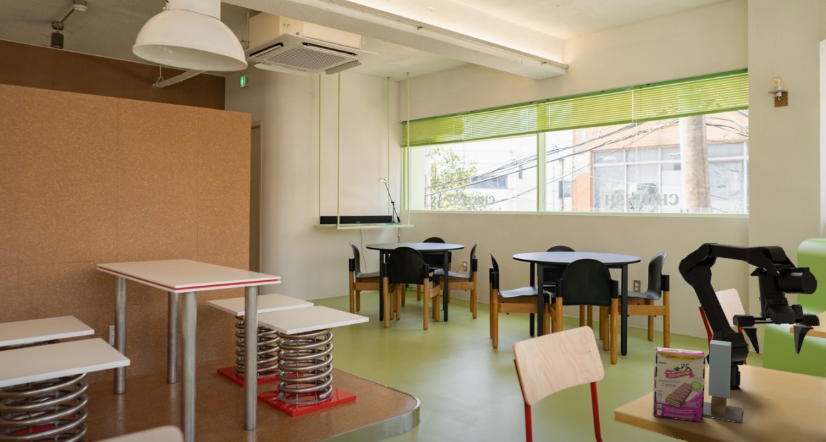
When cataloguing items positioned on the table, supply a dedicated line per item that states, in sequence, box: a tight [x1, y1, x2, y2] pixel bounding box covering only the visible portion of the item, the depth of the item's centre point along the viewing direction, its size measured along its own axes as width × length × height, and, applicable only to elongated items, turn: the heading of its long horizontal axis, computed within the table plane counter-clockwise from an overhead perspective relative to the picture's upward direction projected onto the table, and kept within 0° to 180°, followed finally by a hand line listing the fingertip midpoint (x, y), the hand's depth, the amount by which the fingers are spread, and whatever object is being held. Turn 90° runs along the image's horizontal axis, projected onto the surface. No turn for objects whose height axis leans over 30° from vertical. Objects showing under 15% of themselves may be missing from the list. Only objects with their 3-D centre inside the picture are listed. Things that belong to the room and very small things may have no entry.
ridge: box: [710, 396, 728, 417], centre depth 145 cm, size 3×9×4 cm, turn 149°
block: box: [708, 339, 731, 400], centre depth 144 cm, size 4×4×13 cm
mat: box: [703, 401, 743, 424], centre depth 145 cm, size 10×10×1 cm
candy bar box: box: [652, 346, 707, 423], centre depth 141 cm, size 11×5×16 cm, turn 71°
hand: (777, 353), depth 151 cm, fingers open, 9 cm apart
